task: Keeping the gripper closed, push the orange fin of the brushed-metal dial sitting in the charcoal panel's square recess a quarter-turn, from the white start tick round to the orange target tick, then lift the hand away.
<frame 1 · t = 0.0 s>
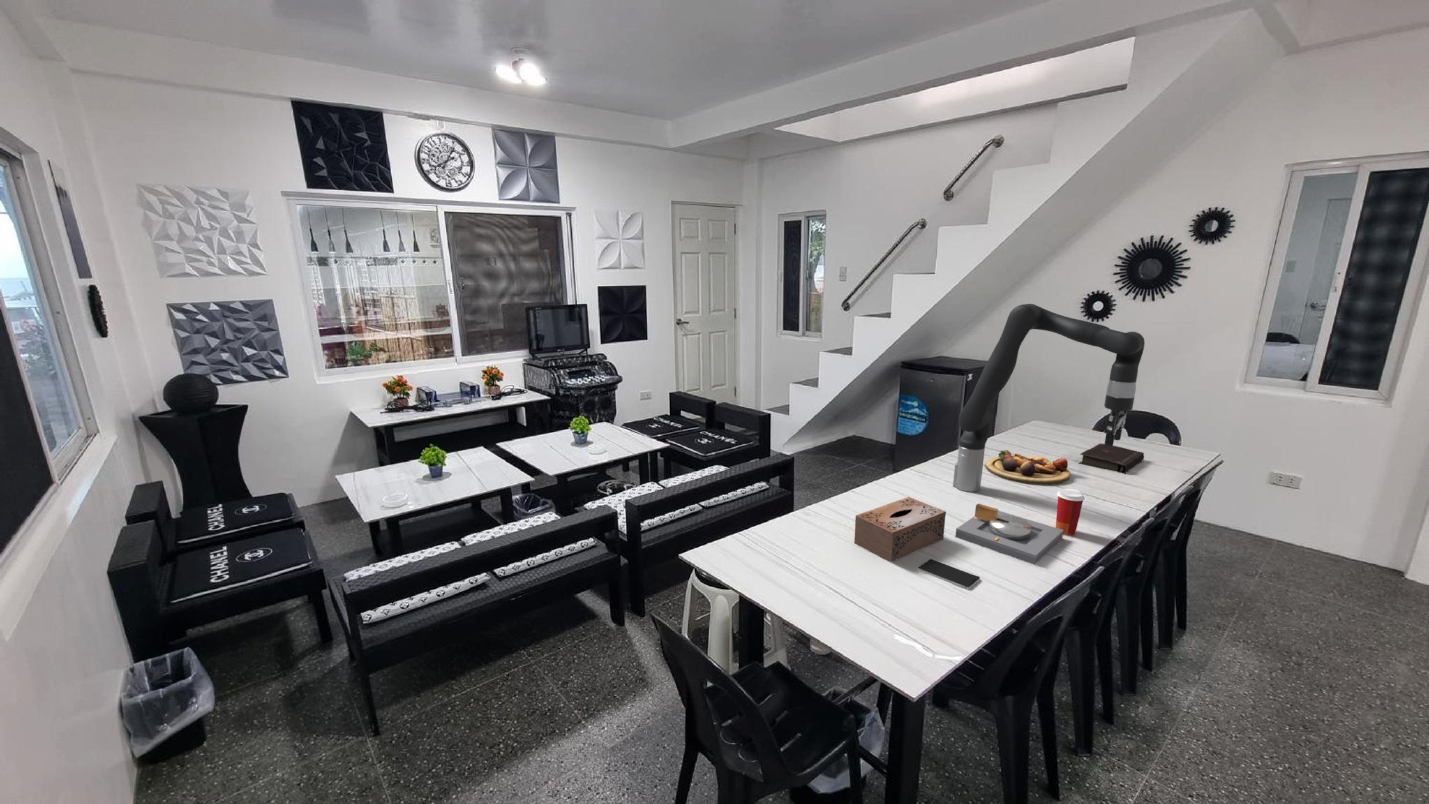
hand: (1112, 442, 186), 29 cm above the table, fingers open, 8 cm apart
diary: (1109, 463, 252), on the table
panel: (1008, 537, 184), on the table
smartphone: (948, 576, 163), on the table
tissue box cover: (898, 542, 183), on the table
paper cup: (1065, 532, 188), on the table
wooden plate with food: (1026, 472, 242), on the table
dial: (1002, 520, 185), point 5 cm above the table, hinge at 0.0°
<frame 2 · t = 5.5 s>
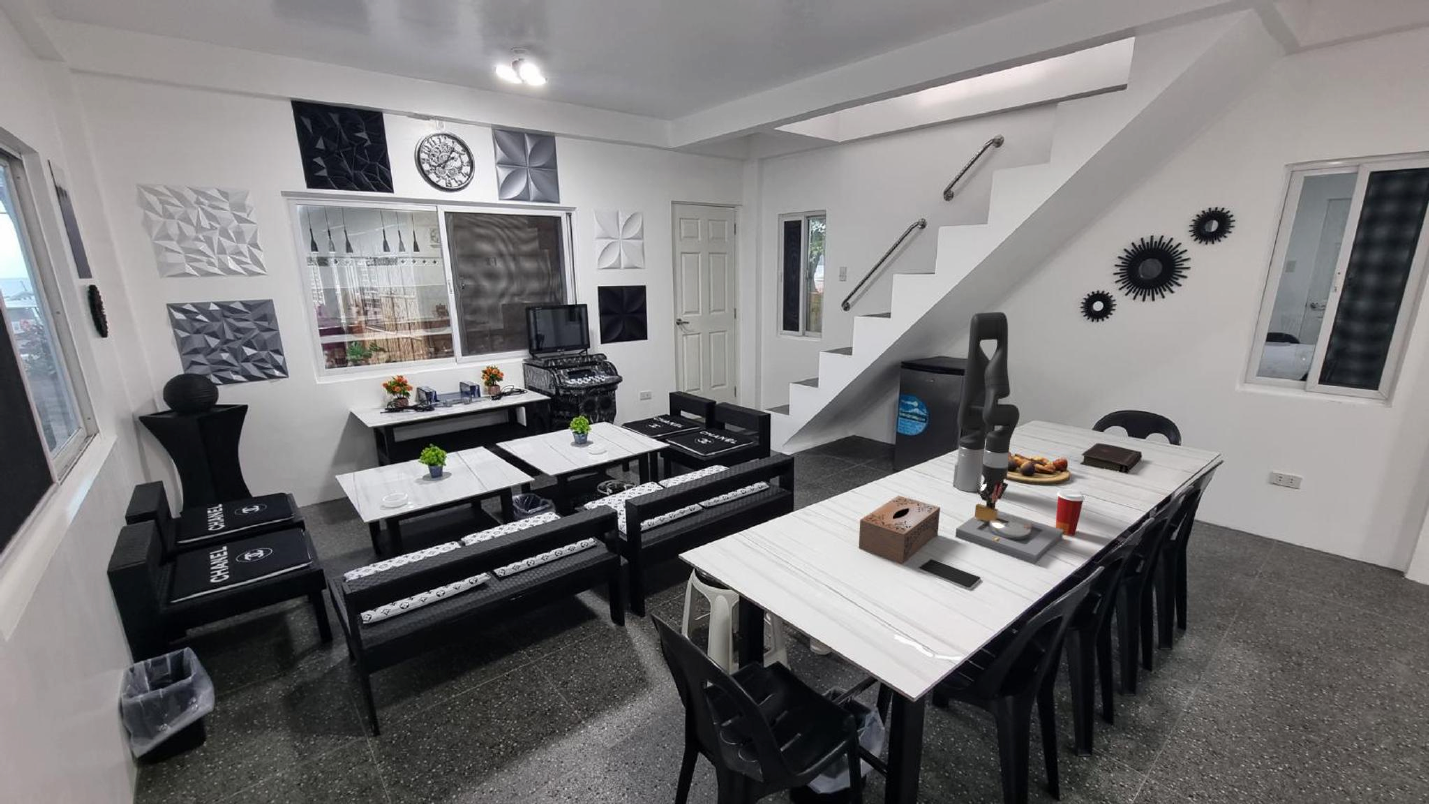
hand: (990, 511, 190), 6 cm above the table, fingers closed
dial: (1002, 520, 185), point 5 cm above the table, hinge at 0.8°, touching gripper
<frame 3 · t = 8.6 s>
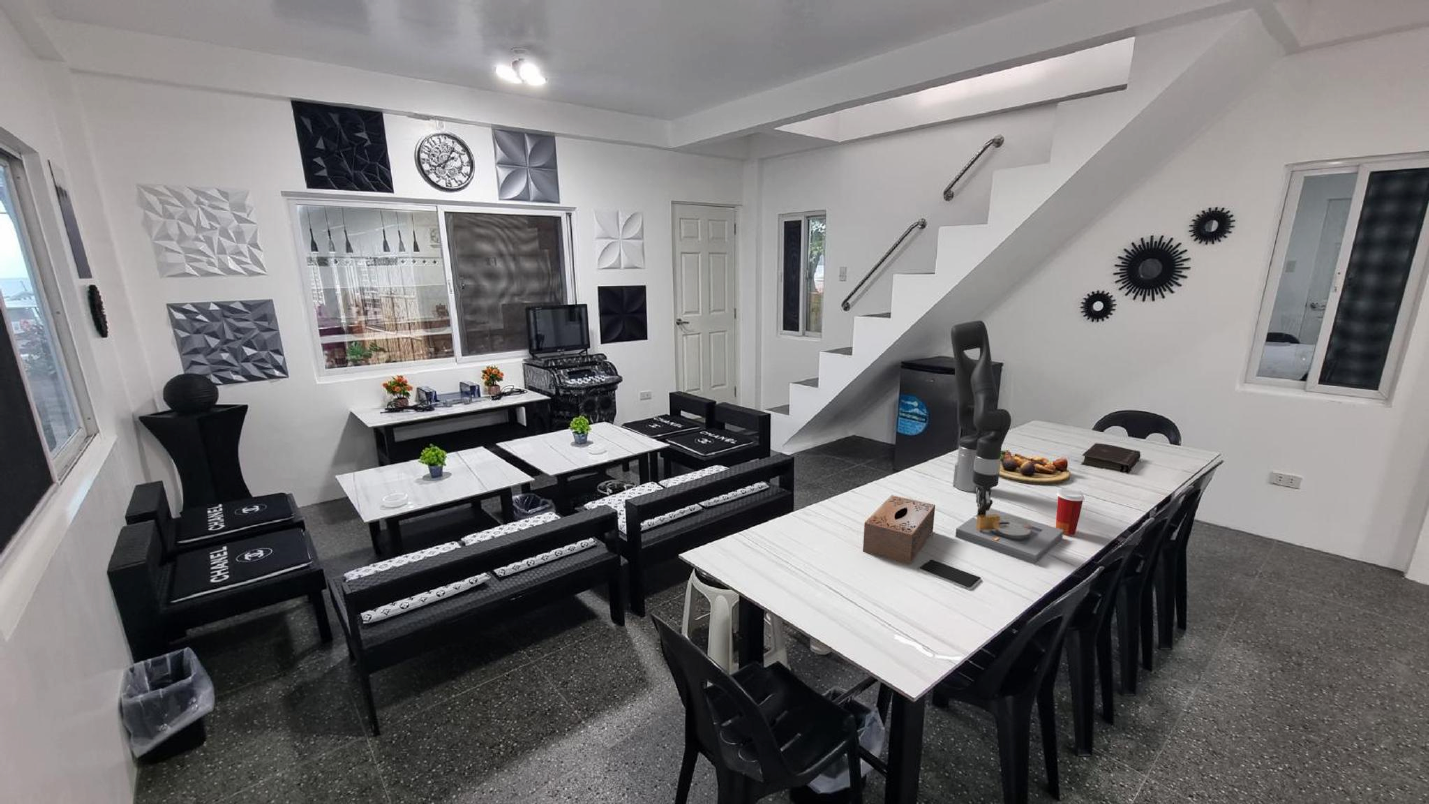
hand: (980, 519, 185), 6 cm above the table, fingers closed
dial: (1003, 523, 183), point 5 cm above the table, hinge at 54.0°, touching gripper
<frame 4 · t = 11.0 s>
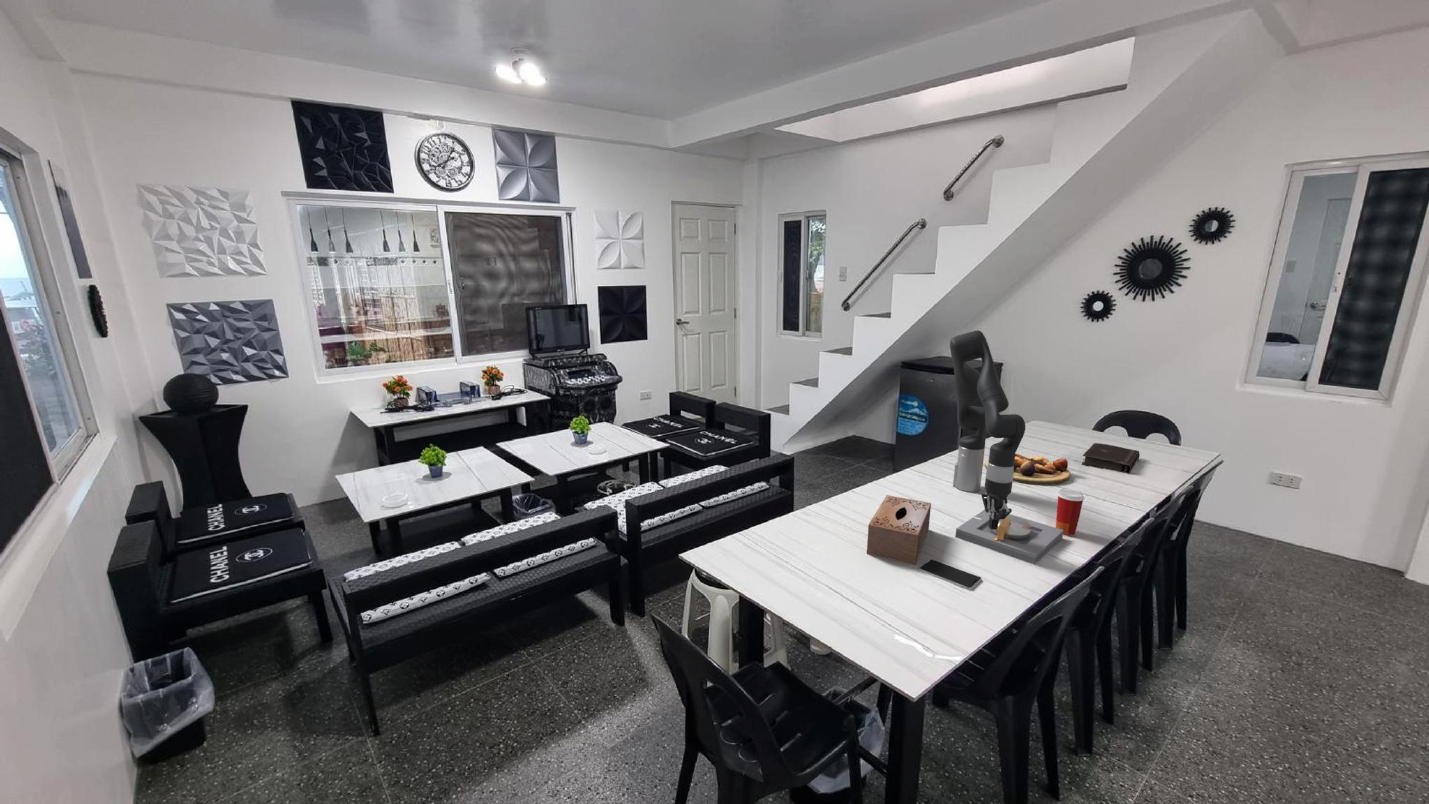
hand: (992, 528, 179), 5 cm above the table, fingers closed
dial: (1008, 525, 181), point 5 cm above the table, hinge at 96.7°, touching gripper
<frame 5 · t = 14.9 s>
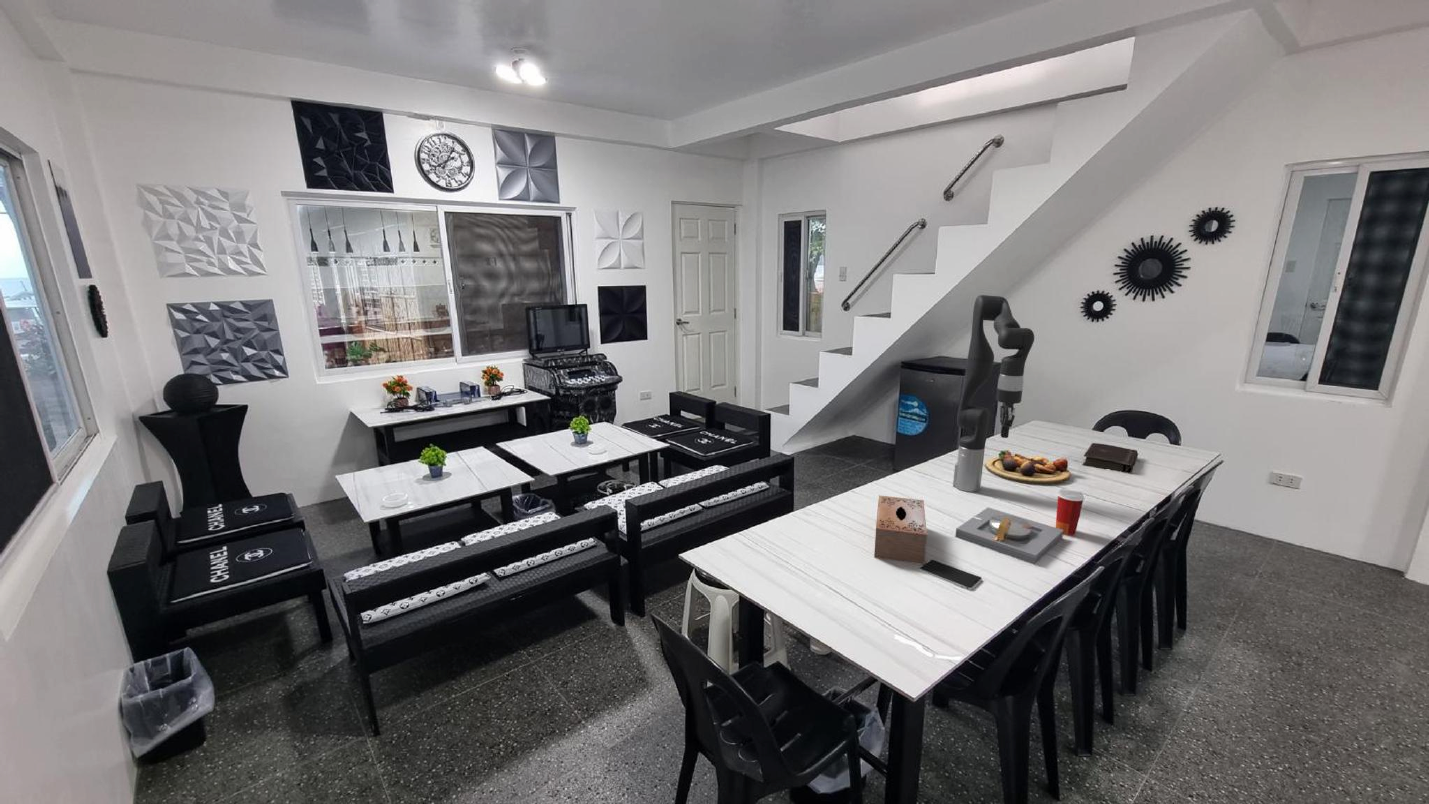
hand: (1004, 437, 194), 29 cm above the table, fingers closed
dial: (1008, 525, 181), point 5 cm above the table, hinge at 96.9°
at the end: dial at +97° (first picture: +0°); dial touching nothing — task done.
